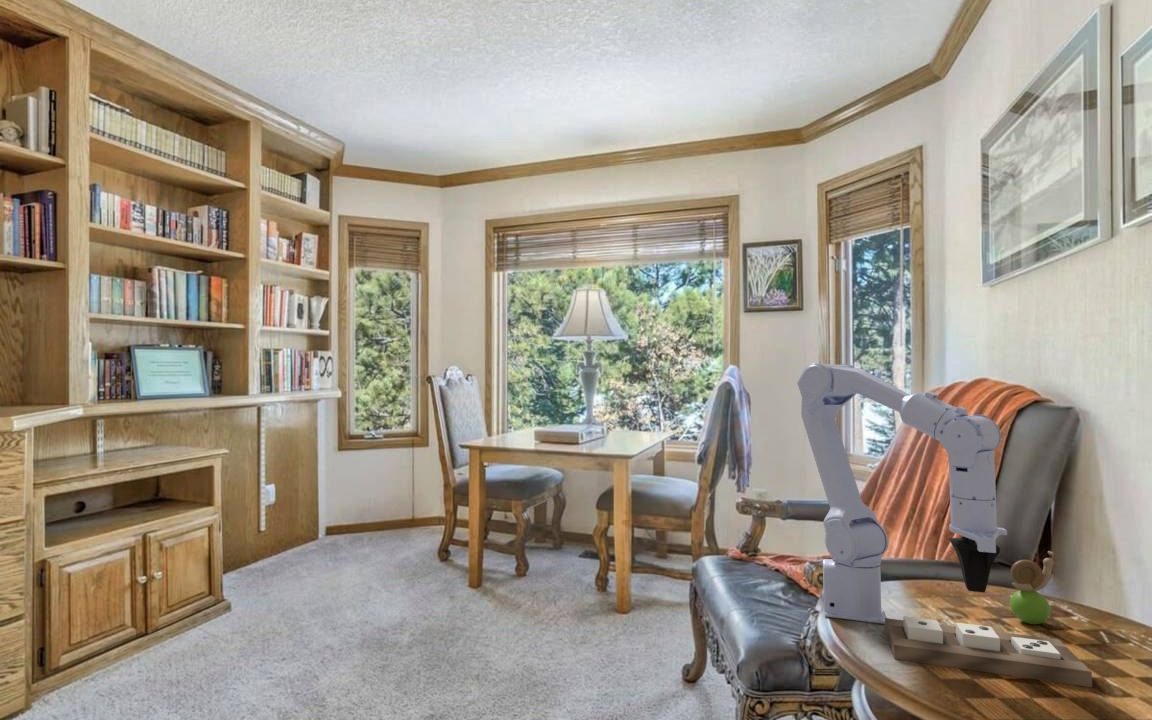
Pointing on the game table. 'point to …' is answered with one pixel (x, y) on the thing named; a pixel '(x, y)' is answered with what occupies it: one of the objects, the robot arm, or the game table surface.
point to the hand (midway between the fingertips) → (975, 590)
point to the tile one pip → (922, 630)
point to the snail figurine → (1030, 590)
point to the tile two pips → (977, 636)
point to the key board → (989, 656)
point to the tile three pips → (1035, 647)
